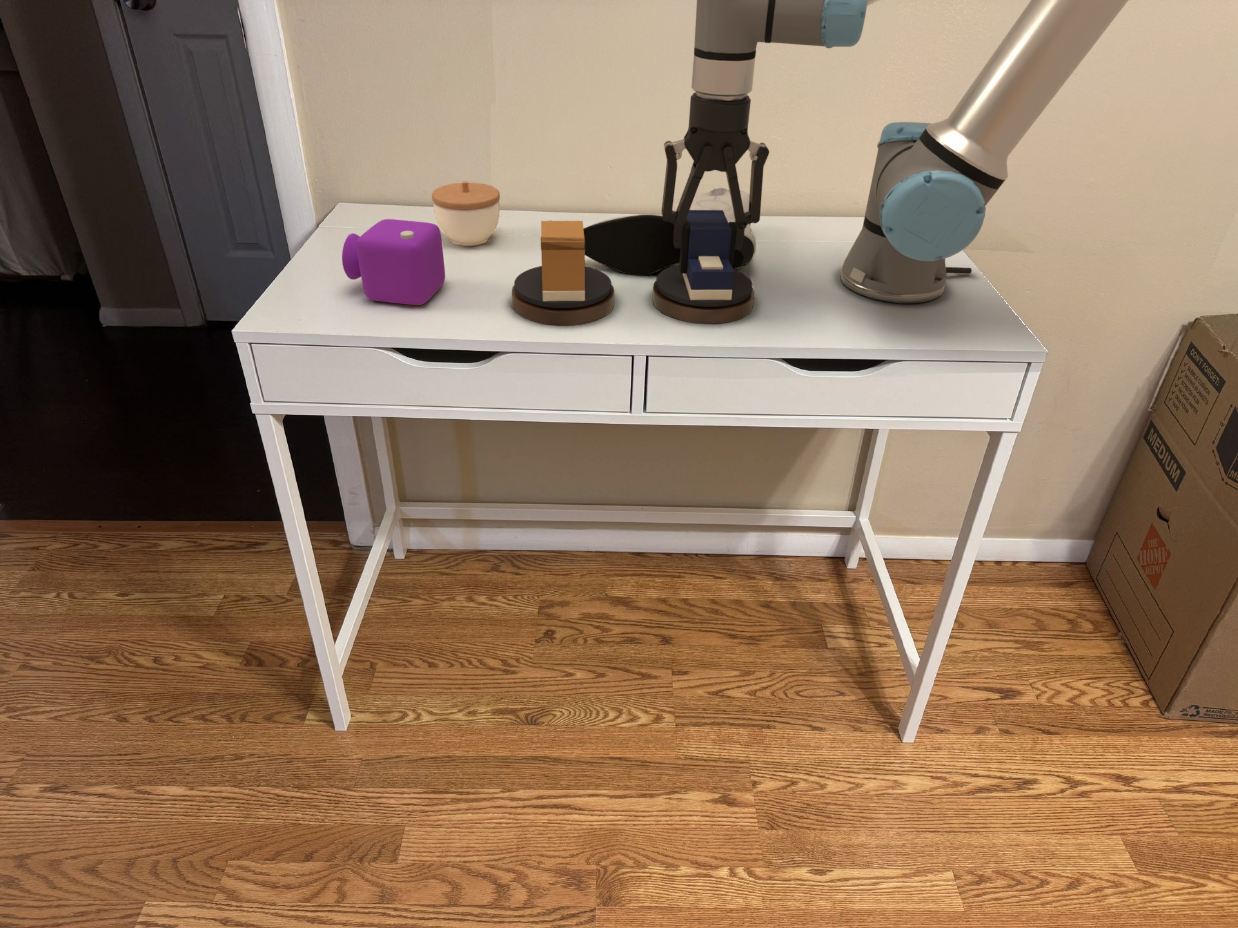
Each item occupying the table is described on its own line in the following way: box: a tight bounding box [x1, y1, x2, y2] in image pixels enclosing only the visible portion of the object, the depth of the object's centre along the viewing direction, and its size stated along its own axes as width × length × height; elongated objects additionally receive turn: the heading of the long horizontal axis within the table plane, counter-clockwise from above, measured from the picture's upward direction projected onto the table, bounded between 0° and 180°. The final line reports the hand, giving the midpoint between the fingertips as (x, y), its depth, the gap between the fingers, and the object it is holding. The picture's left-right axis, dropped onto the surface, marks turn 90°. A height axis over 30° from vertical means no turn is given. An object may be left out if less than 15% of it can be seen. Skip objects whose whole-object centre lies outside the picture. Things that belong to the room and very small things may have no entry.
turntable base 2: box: [652, 280, 755, 325], centre depth 119 cm, size 14×14×2 cm
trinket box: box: [431, 180, 501, 247], centre depth 135 cm, size 11×11×9 cm
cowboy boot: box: [583, 187, 757, 276], centre depth 134 cm, size 10×28×25 cm
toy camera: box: [341, 218, 446, 306], centre depth 117 cm, size 11×14×10 cm
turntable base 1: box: [511, 283, 615, 326], centre depth 118 cm, size 14×14×2 cm
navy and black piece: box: [655, 210, 753, 307], centre depth 116 cm, size 14×14×9 cm
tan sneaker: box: [513, 220, 612, 308], centre depth 114 cm, size 14×14×9 cm
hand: (705, 269), depth 117 cm, fingers closed on navy and black piece, 6 cm apart
